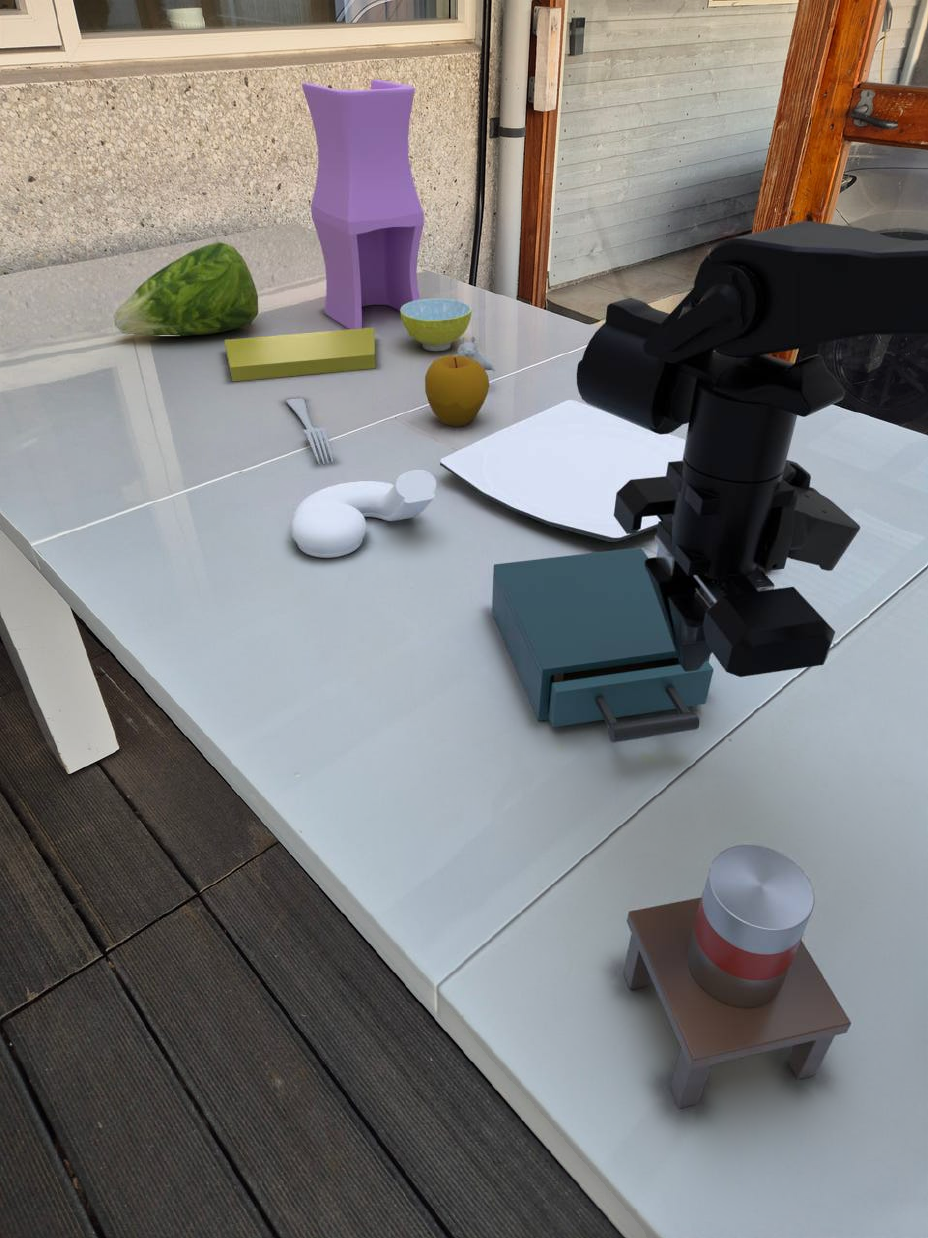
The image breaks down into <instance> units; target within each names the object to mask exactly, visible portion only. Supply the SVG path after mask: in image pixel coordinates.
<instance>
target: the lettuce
mask: <svg viewBox="0 0 928 1238" xmlns="http://www.w3.org/2000/svg"><path fill="white" fill-rule="evenodd" d="M258 315H259V296H258V291H257V288H256V285H255V282H254V279H253V276H252V274H251V271H250V269H249V267H248V264H247V262H246V261H245V259H244V257H243V256H242V255H241V254H240V253H239V251H238V250H237V249H236V247H235V246H233V245H232V244H229V243H225V242H222V241H217V242H213V243H211V244H208V245H204V246H201V247H199V248H196V249H194V250H192V251H189V252H187V253H186V254H184V255H182V256H180V257H178V258H177V259H175V260H174V261H173V262H171V263H169V264H167V265H166V266H164V267H162V268H160V270H158V271H156V272H155V273H153V274H152V275H151V276H150V277H147V279H146V280H144V282H143V283H141V285H139V287H138V288H137V289H136V290H135V291H134V293H132V294H131V295H130V296H129V297H128V298H127V299H126V300H125V301H124V302H123V303H122V304H121V305H120V306H118V308H117V310H116V311H115V313H114V314H113V319H114V320H113V321H114V326H115V327H116V328H117V329H118V330H119V331H120V333H122V334H126V335H129V334H134V335H133V336H151V335H180V336H159V338H160V337H165V338H175V337H176V338H177V337H191V336H201V335H205V336H206V335H214V334H219V333H224V332H229V331H233V330H237V329H239V328H242V327H245V326H249V325H251V324H252V323H253V321H254V320H255V319H256V317H258Z"/></svg>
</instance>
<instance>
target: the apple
mask: <svg viewBox="0 0 928 1238" xmlns="http://www.w3.org/2000/svg"><path fill="white" fill-rule="evenodd" d="M489 389H490V380H489V375H488V373H487V370H485V369H484V368H483V367H482V366H481V364H480V363H479V362H478V361H476V360H474V359H471V358H468V357H465V356H456V355H442V356H440V357H438V358H437V359H435V360H433V361H432V363H431V364H430V365H429V367H428V369H427V371H426V373H425V376H424V391H425V395H426V398H427V402H428V404H429V407H430V408H431V410H432V412H433V414H434V415H435V417H436V418H437V419H438V421H439V422H441V423H442V424H444V425H447V426H451V427H463V426H465V425H468V424H469V423H471V422H472V421H473V420H474V418H476V417H477V415H478V413H479V412H480V410H481V408H482V406H483V405H484V403H485V401H486V399H487V396H488V393H489Z"/></svg>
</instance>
